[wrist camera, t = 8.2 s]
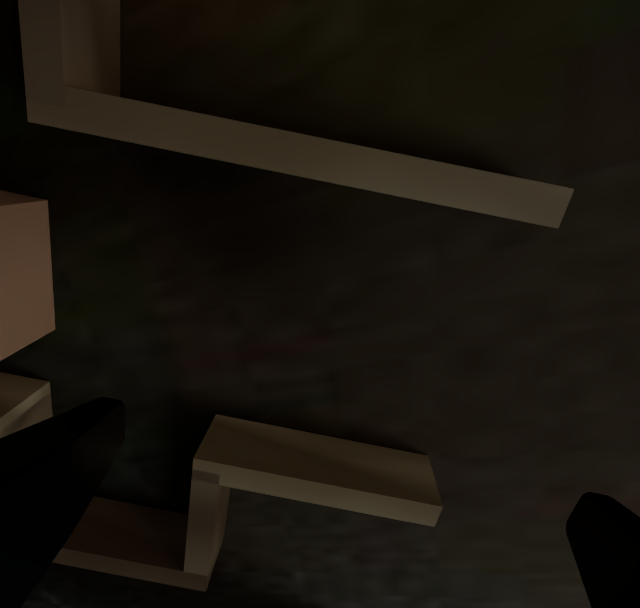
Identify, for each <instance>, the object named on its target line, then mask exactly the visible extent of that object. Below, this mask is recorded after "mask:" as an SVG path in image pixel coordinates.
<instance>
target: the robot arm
mask: <svg viewBox="0 0 640 608" xmlns="http://www.w3.org/2000/svg"><path fill="white" fill-rule="evenodd" d="M124 438H125V405H124V403H123V402H122V401H121V400H117V399H112V398H107V397H100V398H97V399H94V400H92V401H89V402H87V403H84V404H82V405H80V406H77V407H75V408H72V409H70V410H67V411H65V412H62V413H60V414H58V415H55V416H53V417H50V418H48V419H45V420H43V421H41V422H38V423H36V424H33V425H31V426H28V427H26V428H23V429H21V430H19V431H16V432H14V433H11V434H9V435H6V436H4V437H1V438H0V608H21V606H22V605H23V604H24V602H25V601H26V599H27V598H28V596H29V595H30V593H31V592H32V591H33V589H34V588H35V586H36V585H37V583H38V582H39V580H40V579H41V578H42V576H43V575H44V573H45V572H46V570H47V569H48V567H49V566H50V565H51V563H52V562H53V560H54V559H55V557H56V556H57V554H58V553H59V552H60V550H61V549H62V547H63V546H64V544H65V543H66V541H67V540H68V539H69V537H70V535H71V534H72V532H73V531H74V529H75V528H76V526H77V525H78V523H79V521H80V520H81V518H82V516H83V515H84V513H85V511H86V509H87V508H88V506H89V504H90V502H91V500H92V499H93V497H94V495H95V493H96V492H97V490H98V488H99V486H100V484H101V483H102V481H103V479H104V477H105V476H106V474H107V472H108V470H109V468H110V467H111V465H112V463H113V461H114V460H115V458H116V456H117V454H118V452H119V451H120V449H121V447H122V444H123V442H124ZM566 533H567V537H568V540H569V543H570V546H571V549H572V552H573V555H574V557H575V560H576V563H577V566H578V569H579V572H580V575H581V578H582V581H583V584H584V587H585V590H586V593H587V596H588V599H589V601H590V604H591V607H592V608H640V517H639V516H637V515H636V514H634V513H633V512H632V511H630V510H629V509H627V508H626V507H625V506H623V505H622V504H621V503H619V502H618V501H616V500H615V499H613V498H612V497H610V496H607V495H602V494H597V493H592V492H587V493H585V494H583V495H582V496H581V498H580V499H579V501H578V503H577V504H576V506H575V508H574V510H573V511H572V513H571V515H570V516H569V518H568V520H567V523H566Z"/></svg>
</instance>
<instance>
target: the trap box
mask: <svg viewBox="0 0 640 608" xmlns="http://www.w3.org/2000/svg"><path fill="white" fill-rule="evenodd" d="M18 8H19V20H20V32H21V44H22V56H23V68H24V80H25V92H26V104H27V116H28V122H32V123H37V124H42V125H47V126H52V127H57V128H62V129H67V130H72V131H77V132H82V133H87V134H92V135H97V136H101V137H106V138H111V139H116V140H121V141H126V142H131V143H136V144H141V145H146V146H151V147H156V148H161V149H166V150H171V151H176V152H181V153H186V154H191V155H196V156H201V157H206V158H211V159H216V160H221V161H226V162H231V163H236V164H241V165H245V166H250V167H255V168H260V169H265V170H270V171H275V172H280V173H285V174H290V175H295V176H300V177H305V178H310V179H315V180H320V181H325V182H330V183H335V184H340V185H345V186H350V187H355V188H360V189H365V190H370V191H375V192H380V193H385V194H389V195H394V196H399V197H404V198H409V199H414V200H419V201H424V202H429V203H434V204H439V205H444V206H449V207H454V208H459V209H464V210H469V211H474V212H479V213H484V214H489V215H494V216H499V217H504V218H509V219H514V220H519V221H524V222H529V223H534V224H538V225H543V226H548V227H553V228H559V225H560V223H561V220H562V218H563V216H564V213H565V211H566V208H567V206H568V204H569V201H570V199H571V196H572V194H573V191H574V189H571V188H566V187H561V186H557V185H552V184H547V183H542V182H537V181H532V180H527V179H522V178H517V177H512V176H507V175H502V174H497V173H492V172H487V171H482V170H477V169H473V168H468V167H463V166H458V165H453V164H448V163H443V162H438V161H433V160H428V159H423V158H418V157H413V156H408V155H403V154H398V153H393V152H388V151H384V150H379V149H374V148H369V147H364V146H359V145H354V144H349V143H344V142H339V141H334V140H329V139H324V138H319V137H314V136H309V135H304V134H300V133H295V132H290V131H285V130H280V129H275V128H270V127H265V126H260V125H255V124H250V123H245V122H240V121H235V120H230V119H225V118H220V117H216V116H211V115H206V114H201V113H196V112H191V111H186V110H181V109H176V108H171V107H166V106H161V105H156V104H151V103H146V102H141V101H136V100H131V99H127V98H122V97H120V0H18ZM50 417H53V415H52V403H51V391H50V382H49V381H43V380H38V379H33V378H28V377H23V376H18V375H13V374H8V373H3V372H0V438H1V437H4V436H6V435H9V434H11V433H14V432H16V431H19V430H21V429H23V428H26V427H28V426H31V425H33V424H36V423H38V422H41V421H43V420H45V419H48V418H50ZM230 487H232V488H237V489H242V490H247V491H252V492H257V493H263V494H268V495H273V496H278V497H283V498H288V499H293V500H299V501H304V502H309V503H314V504H319V505H324V506H330V507H335V508H340V509H345V510H350V511H355V512H360V513H366V514H371V515H376V516H381V517H386V518H391V519H397V520H402V521H407V522H412V523H417V524H422V525H427V526H433V527H435V525H436V522H437V520H438V517H439V515H440V512H441V510H442V508H443V506H442V502H441V499H440V495H439V492H438V489H437V485H436V482H435V478H434V475H433V471H432V468H431V464H430V461H429V457H428V456H427V455H422V454H417V453H411V452H406V451H401V450H396V449H391V448H386V447H381V446H376V445H371V444H365V443H360V442H355V441H350V440H345V439H340V438H335V437H330V436H325V435H319V434H314V433H309V432H304V431H299V430H294V429H289V428H284V427H279V426H273V425H268V424H263V423H258V422H253V421H248V420H243V419H238V418H233V417H227V416H222V415H217V414H216V415H215V417H214V419H213V421H212V423H211V425H210V427H209V429H208V431H207V433H206V435H205V437H204V439H203V441H202V443H201V444H200V446H199V448H198V450H197V452H196V454H195V456H194V458H193V468H192V480H191V492H190V503H189V515H188V514H183V513H178V512H173V511H168V510H163V509H157V508H152V507H147V506H142V505H137V504H132V503H126V502H121V501H116V500H111V499H106V498H101V497H95V496H94V497H93V499H92V500H91V502H90V504H89V506H88V508H87V509H86V511H85V513H84V515H83V516H82V518H81V520H80V521H79V523H78V525H77V526H76V528H75V529H74V531H73V532H72V534H71V535H70V537H69V539H68V540H67V541H66V543H65V544H64V546H63V547H62V549H61V550H60V552H59V553H58V554H57V556H56V557H55V559H54V560H53V563H58V564H63V565H68V566H73V567H79V568H84V569H89V570H94V571H99V572H105V573H110V574H115V575H120V576H126V577H131V578H136V579H141V580H146V581H152V582H157V583H162V584H167V585H173V586H178V587H183V588H188V589H193V590H199V591H204V592H206V590H207V587H208V584H209V581H210V577H211V574H212V571H213V568H214V565H215V562H216V559H217V556H218V553H219V550H220V547H221V544H222V540H223V537H224V531H225V524H226V517H227V509H228V502H229V494H230Z"/></svg>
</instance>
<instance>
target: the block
mask: <svg viewBox="0 0 640 608" xmlns="http://www.w3.org/2000/svg"><path fill="white" fill-rule="evenodd" d="M53 330H55V317H54V300H53V283H52V265H51V248H50V231H49V214H48V200H44V199H40V198H35V197H30V196H26V195H21V194H16V193H12V192H7V191H2V190H0V361H1V360H3V359H4V358H6V357H8V356H10V355H11V354H13V353H15V352H17V351H18V350H20V349H22V348H24V347H25V346H27V345H29V344H31V343H32V342H34V341H36V340H38V339H39V338H41V337H43V336H45V335H46V334H48V333H50V332H52V331H53Z"/></svg>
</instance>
